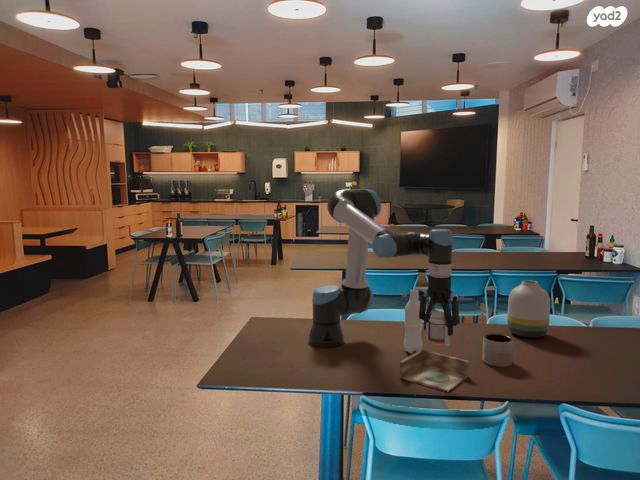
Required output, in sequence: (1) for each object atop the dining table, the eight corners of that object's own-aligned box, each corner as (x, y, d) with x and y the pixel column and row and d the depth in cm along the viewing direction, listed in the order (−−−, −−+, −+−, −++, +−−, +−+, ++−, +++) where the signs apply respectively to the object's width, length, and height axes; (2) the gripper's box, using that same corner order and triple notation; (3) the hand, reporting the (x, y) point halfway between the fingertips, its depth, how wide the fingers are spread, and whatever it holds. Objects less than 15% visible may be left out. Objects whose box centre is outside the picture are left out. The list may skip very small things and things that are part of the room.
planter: (498, 370, 171) (499, 344, 170) (475, 360, 180) (476, 335, 179) (519, 364, 176) (520, 339, 175) (496, 355, 185) (497, 331, 184)
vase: (550, 332, 213) (553, 280, 210) (545, 343, 198) (548, 287, 195) (510, 326, 222) (513, 276, 219) (503, 336, 207) (505, 282, 205)
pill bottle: (433, 338, 165) (434, 307, 164) (450, 342, 161) (451, 310, 160) (425, 343, 161) (426, 310, 159) (442, 347, 157) (443, 314, 155)
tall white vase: (422, 355, 185) (423, 292, 182) (403, 353, 187) (404, 291, 184) (421, 348, 192) (423, 288, 189) (404, 347, 194) (405, 287, 191)
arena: (399, 377, 164) (399, 361, 163) (421, 364, 176) (421, 349, 175) (448, 392, 152) (448, 375, 152) (468, 376, 165) (468, 360, 164)
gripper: (408, 273, 161) (407, 339, 164) (462, 280, 149) (460, 351, 152) (419, 270, 167) (417, 333, 170) (471, 277, 155) (469, 345, 158)
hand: (437, 342), depth 161 cm, fingers closed on pill bottle, 6 cm apart
